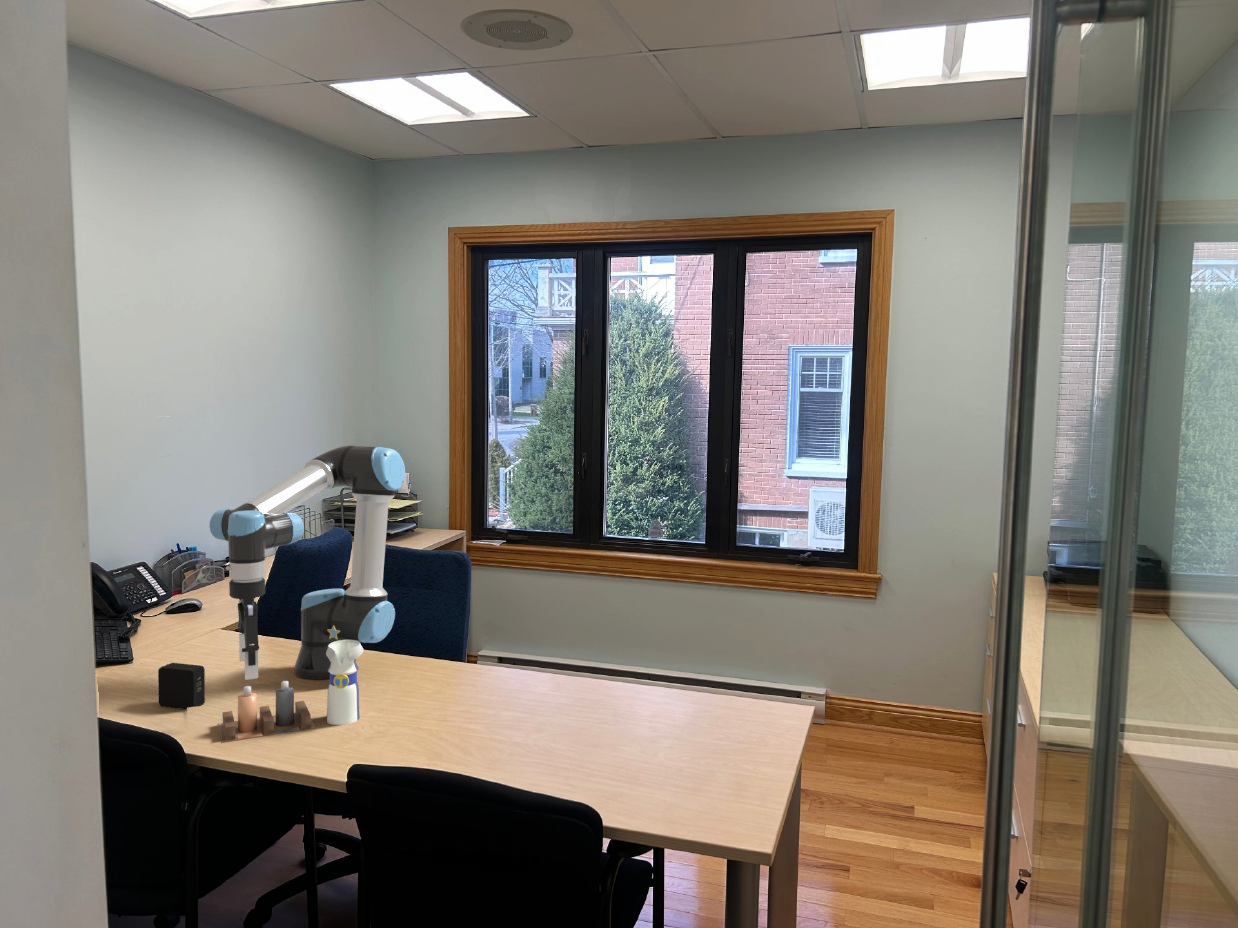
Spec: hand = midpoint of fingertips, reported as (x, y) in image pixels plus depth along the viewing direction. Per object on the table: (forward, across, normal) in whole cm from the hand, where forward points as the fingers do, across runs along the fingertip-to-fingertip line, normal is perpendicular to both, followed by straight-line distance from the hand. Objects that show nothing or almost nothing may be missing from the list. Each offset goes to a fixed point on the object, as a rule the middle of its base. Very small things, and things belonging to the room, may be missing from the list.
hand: (248, 669), depth 192 cm
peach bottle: (+14, +1, 0) cm, 14 cm away
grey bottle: (+14, 0, +8) cm, 16 cm away
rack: (+15, 0, +4) cm, 16 cm away
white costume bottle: (+16, +3, +21) cm, 26 cm away
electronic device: (+15, -25, -13) cm, 32 cm away
